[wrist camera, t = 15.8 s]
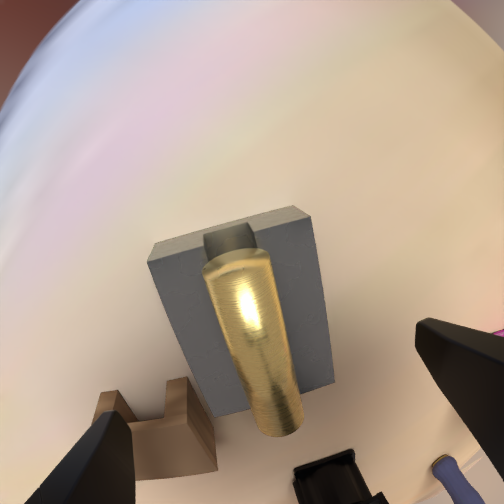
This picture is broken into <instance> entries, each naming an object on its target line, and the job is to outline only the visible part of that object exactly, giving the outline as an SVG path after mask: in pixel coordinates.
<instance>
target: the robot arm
mask: <svg viewBox="0 0 504 504" xmlns="http://www.w3.org/2000/svg"><path fill="white" fill-rule="evenodd" d="M415 347H416V350H417V352H418V354H419V355H420V357H421V359H422V360H423V362H424V364H425V365H426V367H427V369H428V370H429V372H430V374H431V375H432V377H433V379H434V381H435V382H436V384H437V386H438V387H439V388H440V390H441V391H442V393H443V394H444V395H445V397H446V398H447V399H448V401H449V402H450V404H451V405H452V406H453V408H454V409H455V410H456V412H457V413H458V415H459V416H460V417H461V419H462V420H463V422H464V423H465V424H466V426H467V427H468V429H469V430H470V431H471V433H472V434H473V436H474V437H475V439H476V440H477V442H478V443H479V444H480V446H481V447H482V449H483V450H484V452H485V453H486V455H487V456H488V458H489V459H490V461H491V462H492V464H493V465H494V467H495V468H496V470H497V472H498V473H499V475H500V476H501V478H502V479H503V481H504V337H503V336H499V335H495V334H491V333H487V332H483V331H479V330H475V329H471V328H468V327H464V326H460V325H456V324H452V323H448V322H445V321H441V320H437V319H433V318H425V319H423V320H421V321H419V322H418V323H417V324H416V334H415ZM293 471H294V475H295V478H296V480H295V481H293V486H294V490H295V493H296V496H297V499H298V502H299V504H389V503H388V501H387V500H386V498H385V496H384V495H383V493H382V492H379V493H377V495H375V496H373V497H372V495H371V493H370V491H369V489H368V487H367V485H366V483H365V481H364V479H363V477H362V475H361V473H360V471H359V469H358V467H357V465H356V463H355V452H354V450H353V449H351V450H348V451H345V452H342V453H340V454H337V455H334V456H332V457H329V458H326V459H323V460H320V461H317V462H314V463H311V464H308V465H305V466H301V467H298V468H296V469H294V470H293ZM39 487H40V488H37V490H36V491H35V492H34V493H33V494H32V495H31V497H30V498H29V499H28V500H27V501H26V502H25V503H24V504H135V465H134V454H133V441H132V432H131V429H130V427H129V425H128V424H127V423H126V421H125V420H124V419H123V417H122V416H121V414H120V413H119V412H118V411H117V410H108V411H104V412H103V413H102V414H101V415H100V416H99V417H98V418H97V420H96V421H95V422H94V423H93V424H92V425H91V426H90V428H89V429H88V430H87V431H86V432H85V433H84V435H83V436H82V437H81V438H80V439H79V440H78V442H77V443H76V444H75V445H74V446H73V447H72V449H71V450H70V451H69V452H68V453H67V454H66V456H65V457H64V458H63V459H62V460H61V461H60V463H59V464H58V465H57V466H56V467H55V468H54V470H53V471H52V472H51V473H50V474H49V475H48V477H47V478H46V479H45V480H44V481H43V483H42V484H41V485H40V486H39Z"/></svg>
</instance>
